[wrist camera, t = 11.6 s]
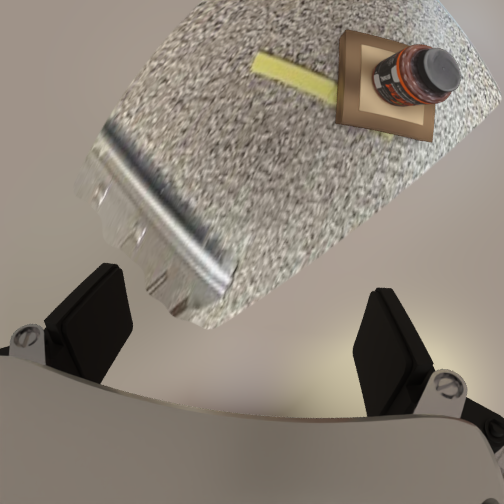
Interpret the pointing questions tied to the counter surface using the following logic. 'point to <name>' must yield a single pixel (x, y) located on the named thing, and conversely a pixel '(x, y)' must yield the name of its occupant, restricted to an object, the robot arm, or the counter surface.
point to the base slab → (365, 96)
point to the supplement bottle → (416, 76)
